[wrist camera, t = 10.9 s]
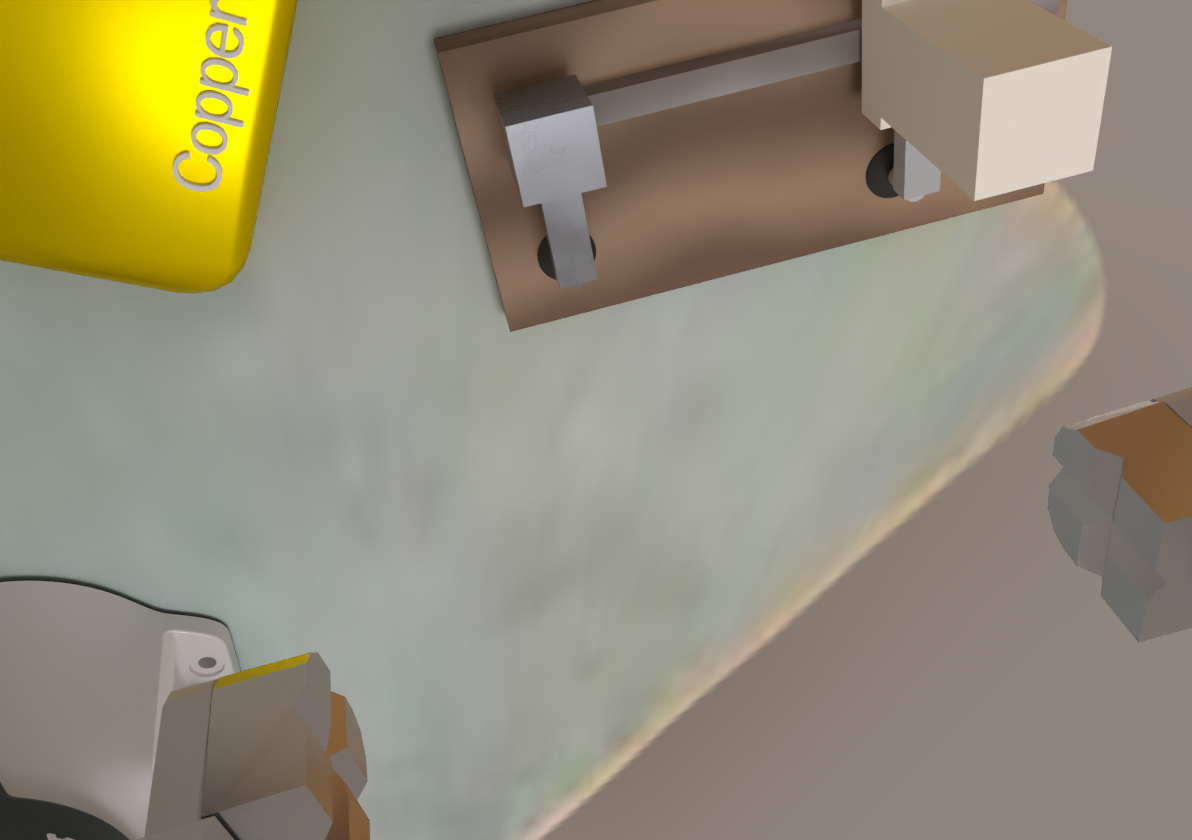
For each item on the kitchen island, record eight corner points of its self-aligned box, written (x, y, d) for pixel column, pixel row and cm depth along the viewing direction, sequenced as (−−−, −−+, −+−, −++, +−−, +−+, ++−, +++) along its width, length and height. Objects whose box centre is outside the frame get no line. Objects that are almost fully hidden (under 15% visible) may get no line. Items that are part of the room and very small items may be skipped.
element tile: (245, 251, 42) (239, 314, 38) (-208, 160, 36) (-267, 223, 32) (321, -153, 34) (322, -123, 30) (-243, -348, 28) (-327, -342, 25)
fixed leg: (606, 260, 42) (626, 304, 40) (535, 278, 42) (550, 324, 40) (572, 69, 37) (592, 105, 35) (491, 89, 37) (505, 126, 34)
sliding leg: (945, 173, 43) (1074, 288, 36) (853, 197, 43) (965, 318, 36) (958, -53, 38) (1114, 29, 30) (853, -28, 37) (985, 62, 30)
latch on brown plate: (1025, 179, 47) (1055, 203, 45) (505, 313, 45) (514, 344, 43) (1057, -110, 39) (1095, -95, 37) (433, 39, 38) (440, 62, 36)
